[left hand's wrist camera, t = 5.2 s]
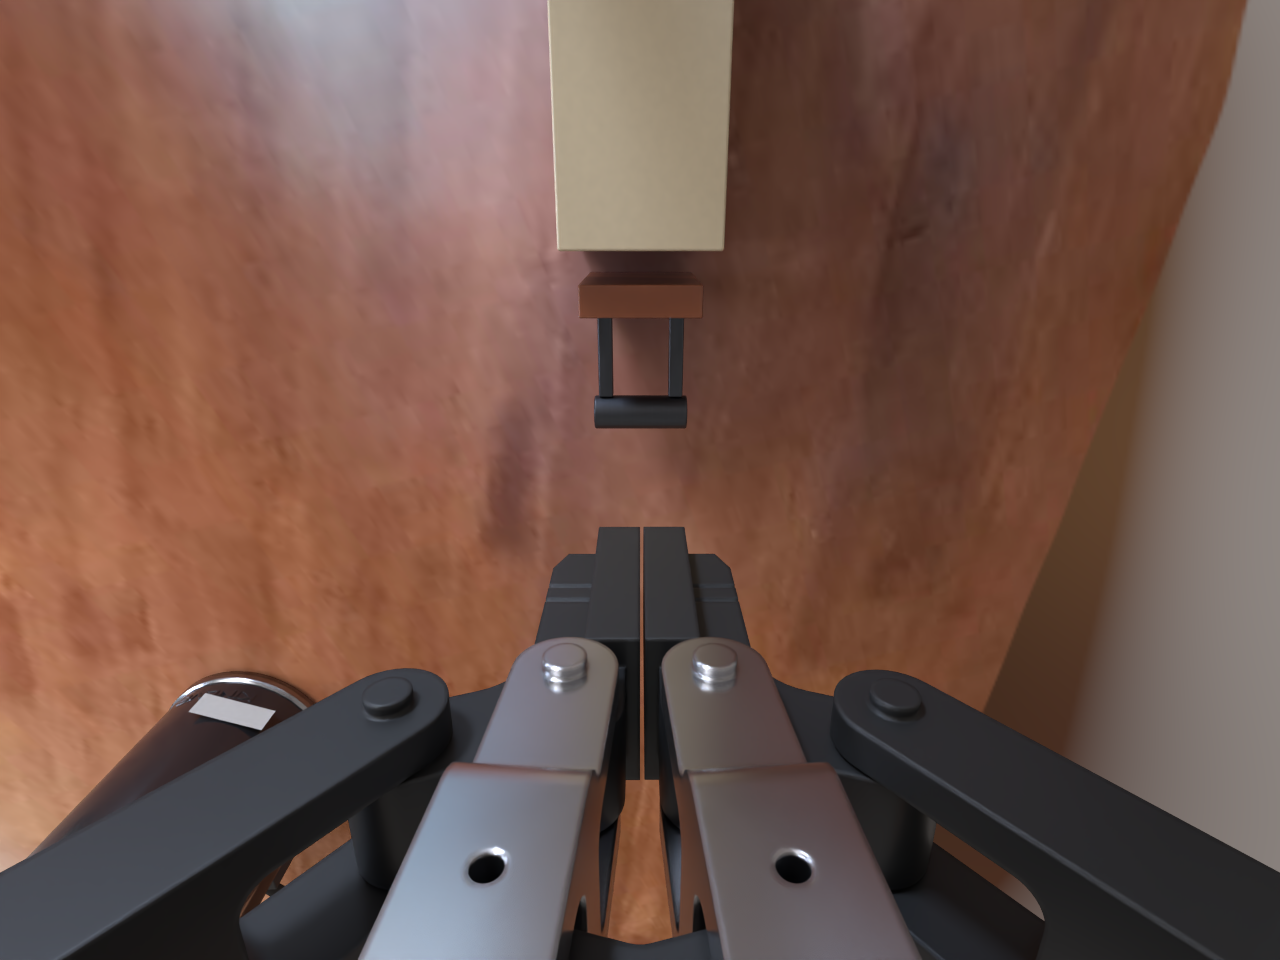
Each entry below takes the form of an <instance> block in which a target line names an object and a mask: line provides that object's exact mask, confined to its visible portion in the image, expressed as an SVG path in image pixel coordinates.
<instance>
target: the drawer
mask: <svg viewBox="0 0 1280 960" xmlns="http://www.w3.org/2000/svg"><path fill="white" fill-rule="evenodd" d="M578 304H579V318H597V321H598V367H599V395H596V396H595V400H594V421H595V428H686V425H687V397H686V396H685V395H682V385H683V340H684V318H702V316H703V285H702V284H701V283H700V282H699V280H698V279H697V278H696V277H695V276H694V275H693V274H692V273H691V272H591V273H590V274H589V275H588V276H587V277H586V278H585V279H584V280H583V281H582V282H581V283H580V284H579V285H578ZM612 318H669V360H668V395H613V332H612Z"/></svg>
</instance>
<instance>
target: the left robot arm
mask: <svg viewBox="0 0 1280 960" xmlns="http://www.w3.org/2000/svg"><path fill="white" fill-rule="evenodd" d="M643 646H644V767H645V780H659V790H660V822H659V826H660V839H661V847H662V855H663V863H664V871H665V880H666V888H667V896H668V904H669V912H670V920H671V929H672V937H673V938H670V939H666V940H662V941H658V942H654V943H650V944H645V945H636V944H630V943H626V942H622V941H618V940H614V939H610V938H607V937H608V929H609V920H610V912H611V904H612V896H613V888H614V880H615V871H616V863H617V855H618V847H619V839H620V826H621V822H620V813H621V812H622V809H623V806H624V802H625V783H626V780H640V527H599V533H598V540H597V548H596V554H569V555H567V556H566V557H565V558H564V559H563V560H562V561H561V562H560V563H559V564H558V565H557V566H555V567H554V568H553V572H552V576H551V580H550V584H549V589H548V593H547V597H546V602H545V605H544V609H543V613H542V617H541V621H540V625H539V629H538V633H537V637H536V641H535V645H532V646H531V647H529V648H527V649H526V650H525V651H523V652H522V653H521V654H520V655H519V656H518V657H517V658H516V660H515V661H514V663H513V665H512V668H511V670H510V673H509V675H508V677H507V680H506V681H505V682H503V683H501V684H499V685H496V686H494V687H491V688H488V689H484V690H480V691H476V692H472V693H467V694H462V695H458V696H453V697H449V692H448V688H447V685H446V683H445V682H444V681H443V679H441V678H440V677H439V676H437V675H436V674H433V673H431V672H429V671H425V670H421V669H411V668H403V669H393V670H387V671H383V672H379V673H376V674H373V675H370V676H367V677H365V678H363V679H361V680H359V681H357V682H355V683H353V684H351V685H349V686H347V687H346V688H344V689H342V690H340V691H338V692H336V693H334V694H332V695H331V696H329V697H327V698H325V699H323V700H321V701H319V702H318V703H316V704H314V703H313V702H312V701H311V700H310V699H309V698H308V697H307V696H305V695H304V694H303V693H302V692H300V691H299V690H297V689H296V688H294V687H292V686H291V685H289V684H287V683H285V682H283V681H281V680H278V679H276V678H273V677H270V676H266V675H263V674H258V673H253V672H243V671H231V672H223V673H218V674H214V675H210V676H208V677H205V678H203V679H201V680H199V681H197V682H195V683H194V684H193V685H191V686H190V687H189V688H188V689H187V690H186V691H185V692H184V693H183V694H182V695H181V696H180V697H179V698H178V699H177V700H176V701H175V702H174V703H173V705H172V706H171V708H170V709H169V711H168V712H167V713H166V714H165V715H164V716H163V717H162V718H161V719H160V720H159V721H158V722H157V724H156V725H155V726H154V727H153V728H152V729H151V730H150V731H149V732H148V733H147V734H146V735H145V736H144V737H143V738H142V739H141V740H140V741H139V742H138V743H137V744H136V745H135V746H134V747H133V748H132V749H131V750H130V751H129V752H128V753H127V754H126V755H125V756H124V757H123V758H122V759H121V761H120V762H119V763H118V764H117V765H116V766H115V767H114V768H113V769H112V770H111V771H110V772H109V773H108V774H107V775H106V776H105V777H104V778H103V779H102V780H101V781H100V782H99V783H98V784H97V785H96V787H95V788H94V789H93V790H92V791H91V792H90V793H89V794H88V795H87V796H86V797H85V798H84V799H83V800H82V801H81V802H80V803H79V804H78V805H77V806H76V807H75V808H74V809H73V810H72V812H71V813H70V814H69V815H68V816H67V817H66V818H65V819H64V820H63V821H62V822H61V823H60V824H59V825H58V826H57V827H56V828H55V829H54V830H53V831H52V832H51V833H50V834H49V835H48V836H47V838H46V839H45V840H44V841H43V842H42V843H41V844H40V845H39V846H38V847H37V848H36V849H35V850H34V851H33V852H32V853H31V854H30V855H29V856H28V857H27V858H26V859H25V860H23V861H21V862H19V863H17V864H16V865H14V866H12V867H10V868H8V869H6V870H4V871H3V872H1V873H0V960H1280V873H1279V872H1278V871H1276V870H1274V869H1272V868H1270V867H1268V866H1266V865H1264V864H1263V863H1261V862H1259V861H1257V860H1255V859H1253V858H1251V857H1250V856H1248V855H1246V854H1244V853H1242V852H1240V851H1238V850H1236V849H1235V848H1233V847H1231V846H1229V845H1227V844H1225V843H1223V842H1222V841H1220V840H1218V839H1216V838H1214V837H1212V836H1210V835H1209V834H1207V833H1205V832H1203V831H1201V830H1199V829H1197V828H1196V827H1194V826H1192V825H1190V824H1188V823H1186V822H1184V821H1182V820H1181V819H1179V818H1177V817H1175V816H1173V815H1171V814H1169V813H1168V812H1166V811H1164V810H1162V809H1160V808H1158V807H1156V806H1154V805H1153V804H1151V803H1149V802H1147V801H1145V800H1143V799H1141V798H1140V797H1138V796H1136V795H1134V794H1132V793H1130V792H1128V791H1127V790H1125V789H1123V788H1121V787H1119V786H1117V785H1115V784H1113V783H1112V782H1110V781H1108V780H1106V779H1104V778H1102V777H1100V776H1099V775H1097V774H1095V773H1093V772H1091V771H1089V770H1087V769H1085V768H1084V767H1082V766H1080V765H1078V764H1076V763H1074V762H1072V761H1071V760H1069V759H1067V758H1065V757H1063V756H1061V755H1059V754H1057V753H1056V752H1054V751H1052V750H1050V749H1048V748H1046V747H1045V746H1043V745H1041V744H1039V743H1037V742H1035V741H1033V740H1031V739H1030V738H1028V737H1026V736H1024V735H1022V734H1020V733H1018V732H1016V731H1015V730H1013V729H1011V728H1009V727H1007V726H1005V725H1003V724H1002V723H1000V722H998V721H996V720H994V719H992V718H990V717H989V716H987V715H985V714H983V713H981V712H979V711H977V710H976V709H974V708H972V707H970V706H968V705H966V704H964V703H962V702H961V701H959V700H957V699H955V698H953V697H951V696H949V695H948V694H946V693H944V692H942V691H940V690H938V689H936V688H935V687H933V686H931V685H929V684H927V683H925V682H923V681H921V680H919V679H917V678H914V677H911V676H909V675H906V674H902V673H898V672H893V671H887V670H865V671H859V672H855V673H852V674H850V675H848V676H846V677H844V678H843V679H842V680H841V681H840V682H839V683H838V684H837V686H836V688H835V691H834V697H833V696H829V695H824V694H819V693H815V692H810V691H806V690H802V689H798V688H795V687H792V686H789V685H786V684H784V683H782V682H780V681H778V680H776V679H775V678H773V677H772V675H771V673H770V670H769V668H768V665H767V663H766V661H765V660H764V658H763V657H762V656H761V655H760V654H759V653H758V652H757V651H755V650H754V649H753V648H751V647H750V643H749V639H748V635H747V631H746V627H745V623H744V620H743V616H742V612H741V608H740V604H739V602H738V596H737V593H736V589H735V588H734V581H733V577H732V573H731V569H730V567H728V566H727V565H726V564H725V563H724V562H723V561H722V560H721V559H720V558H718V557H717V556H716V555H715V554H688V549H687V542H686V535H685V529H684V527H644V546H643ZM347 820H348V821H349V827H350V832H351V837H352V839H350V840H349V841H348V842H346V843H345V844H343V845H342V846H341V847H339V848H338V849H336V850H335V851H334V852H332V853H331V854H329V855H328V856H327V857H325V858H324V859H322V860H321V861H320V862H318V863H317V864H315V865H314V866H313V867H311V868H310V869H308V870H307V871H306V872H304V873H303V874H301V875H300V876H299V877H297V878H296V879H294V880H293V881H292V882H290V883H289V884H287V885H286V886H284V885H282V884H280V881H281V880H282V878H283V876H284V874H285V872H286V870H287V868H288V867H289V865H290V863H291V861H292V859H293V857H295V856H296V855H297V854H299V853H300V852H302V851H303V850H305V849H306V848H308V847H309V846H311V845H312V844H313V843H315V842H316V841H318V840H319V839H321V838H322V837H324V836H325V835H326V834H328V833H329V832H331V831H332V830H334V829H335V828H337V827H338V826H340V825H341V824H342V823H344V822H345V821H347ZM936 823H938V824H939V825H941V826H942V827H943V828H945V829H946V830H948V831H949V832H951V833H952V834H954V835H955V836H956V837H958V838H959V839H961V840H962V841H964V842H965V843H967V844H968V845H970V846H971V847H972V848H974V849H975V850H977V851H978V852H980V853H981V854H983V855H984V856H985V857H987V858H988V859H990V860H991V861H993V862H994V863H996V864H997V865H998V866H1000V867H1001V868H1003V869H1004V870H1006V871H1007V872H1009V873H1010V874H1012V875H1013V876H1014V877H1016V878H1017V879H1018V880H1019V881H1021V882H1022V883H1023V884H1024V885H1025V886H1026V887H1027V888H1028V890H1029V891H1030V892H1031V893H1032V894H1033V896H1034V897H1035V899H1036V900H1037V902H1038V904H1039V905H1040V907H1041V910H1042V912H1043V915H1044V919H1045V921H1043V920H1042V919H1040V918H1039V917H1037V916H1036V915H1035V914H1033V913H1032V912H1030V911H1029V910H1028V909H1026V908H1025V907H1023V906H1022V905H1021V904H1019V903H1018V902H1016V901H1015V900H1014V899H1012V898H1011V897H1009V896H1008V895H1007V894H1005V893H1004V892H1002V891H1001V890H1000V889H998V888H997V887H995V886H994V885H993V884H991V883H990V882H988V881H987V880H986V879H984V878H983V877H981V876H980V875H979V874H977V873H976V872H974V871H973V870H972V869H970V868H969V867H967V866H966V865H965V864H963V863H962V862H960V861H959V860H958V859H956V858H955V857H954V856H952V855H951V854H949V853H948V852H947V851H945V850H944V849H942V848H941V847H939V846H938V845H937V844H935V843H934V842H933V838H934V833H935V828H936ZM265 894H267V895H269V896H270V897H269V898H268V899H266V900H265V901H264V902H262V903H261V901H262V899H263V898H264V896H265ZM260 903H261V904H260Z"/></svg>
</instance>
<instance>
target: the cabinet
mask: <svg viewBox="0 0 1280 960" xmlns="http://www.w3.org/2000/svg"><path fill="white" fill-rule="evenodd" d="M547 3H548V28H549V53H550V78H551V103H552V128H553V153H554V178H555V202H556V227H557V249H558V250H559V251H723V250H724V238H725V213H726V189H727V164H728V140H729V115H730V91H731V66H732V42H733V17H734V0H547Z"/></svg>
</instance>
